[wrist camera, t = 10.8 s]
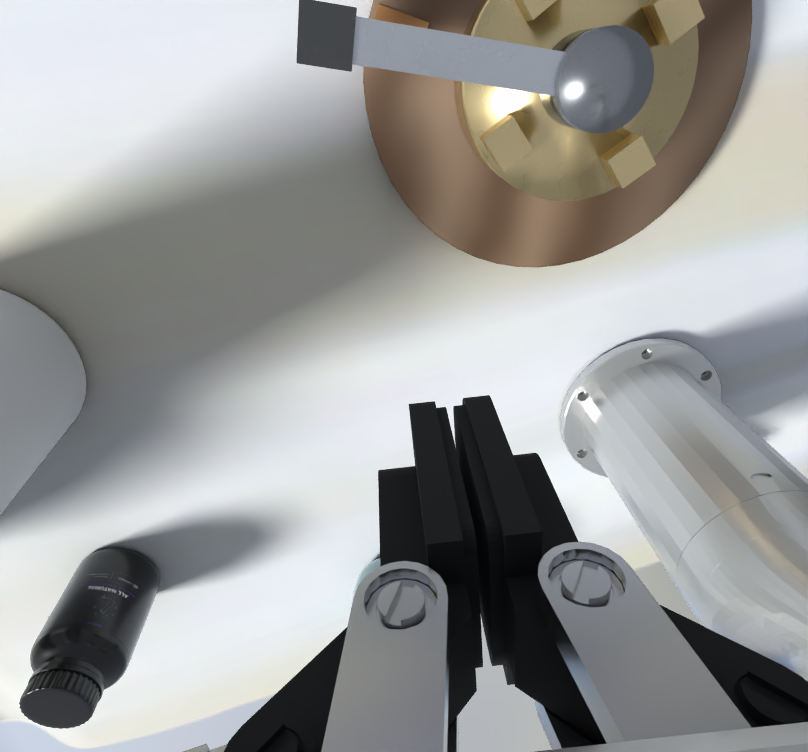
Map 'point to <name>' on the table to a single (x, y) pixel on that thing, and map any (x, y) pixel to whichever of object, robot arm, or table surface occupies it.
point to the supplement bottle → (89, 637)
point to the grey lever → (539, 81)
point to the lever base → (506, 205)
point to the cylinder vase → (33, 390)
